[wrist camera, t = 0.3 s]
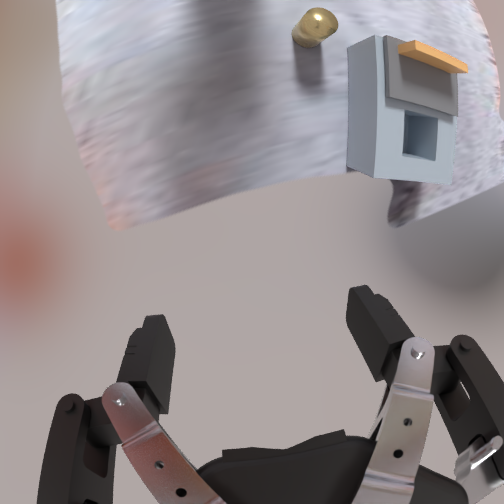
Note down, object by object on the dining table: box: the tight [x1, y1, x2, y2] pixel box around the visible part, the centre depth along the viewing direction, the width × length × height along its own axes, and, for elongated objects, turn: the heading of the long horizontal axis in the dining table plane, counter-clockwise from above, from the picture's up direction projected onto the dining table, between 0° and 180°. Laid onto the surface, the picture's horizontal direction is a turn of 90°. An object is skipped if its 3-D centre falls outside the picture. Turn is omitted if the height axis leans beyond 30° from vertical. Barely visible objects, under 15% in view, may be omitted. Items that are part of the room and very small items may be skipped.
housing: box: [347, 35, 457, 185], centre depth 30 cm, size 18×14×8 cm
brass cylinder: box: [292, 8, 338, 48], centre depth 25 cm, size 4×4×6 cm
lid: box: [383, 35, 468, 117], centre depth 22 cm, size 8×12×4 cm, turn 91°
